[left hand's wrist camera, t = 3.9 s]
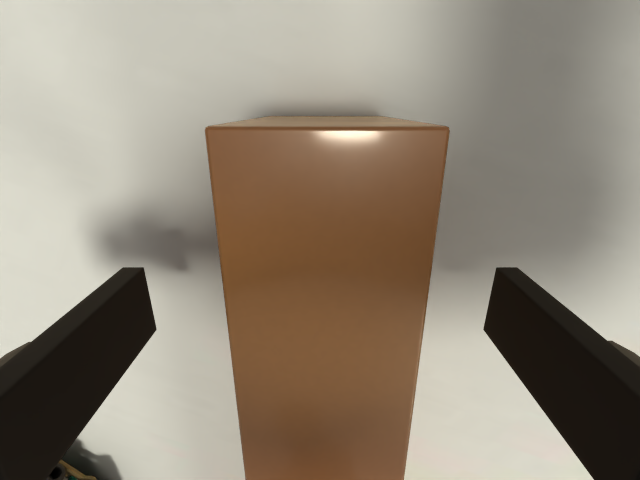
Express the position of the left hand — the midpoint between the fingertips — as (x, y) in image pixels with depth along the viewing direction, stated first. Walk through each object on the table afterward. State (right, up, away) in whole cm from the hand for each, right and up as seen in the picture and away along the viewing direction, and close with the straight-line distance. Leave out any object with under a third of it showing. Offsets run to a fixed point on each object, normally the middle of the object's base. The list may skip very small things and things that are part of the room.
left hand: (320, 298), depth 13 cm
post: (0, -20, +12) cm, 23 cm away
